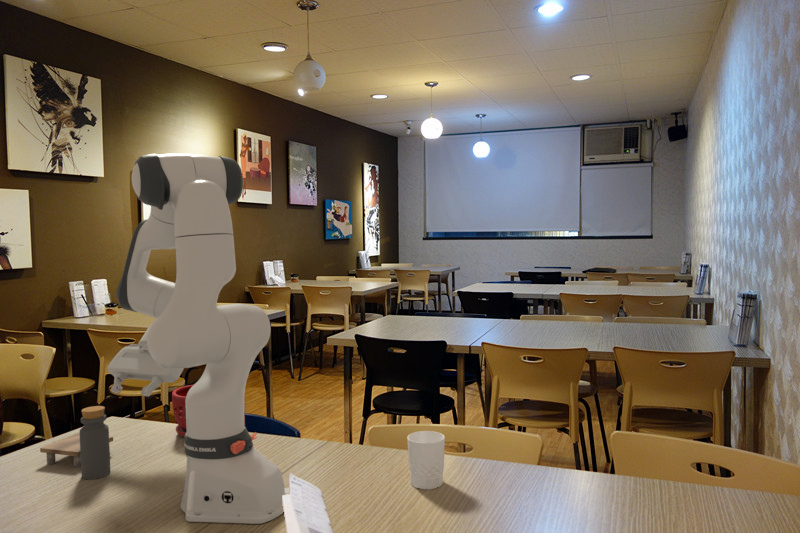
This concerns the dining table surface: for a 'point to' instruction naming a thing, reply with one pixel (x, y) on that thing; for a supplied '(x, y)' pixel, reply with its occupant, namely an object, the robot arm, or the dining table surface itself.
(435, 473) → the white cup
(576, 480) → the dining table surface
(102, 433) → the bottle
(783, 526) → the dining table surface
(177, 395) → the plant pot
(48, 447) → the small wooden stand
